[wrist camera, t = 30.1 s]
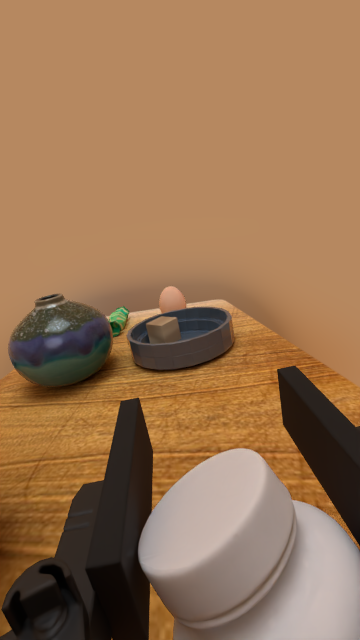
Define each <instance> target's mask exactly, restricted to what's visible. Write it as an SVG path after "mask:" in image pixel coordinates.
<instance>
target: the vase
mask: <svg viewBox="0 0 360 640" xmlns="http://www.w3.org/2000/svg"><path fill="white" fill-rule="evenodd" d="M112 345H113V333H112V328H111V325H110V323H109V321H108V319H107V318H106V316H105V315H104V314H103V313H101V312H100V311H99V310H98V309H96V308H94V307H92V306H89V305H86V304H83V303H79V302H75V301H70V300H67V299H65V298H64V297H63V295H62V294H53V295H49V296H45V297H42V298H39V299H37V300H36V301H35V308H34V309H33V310H32V311H31V312H30V313H29V314H28V315H27V316H26V317H25V318H24V319H23V320H22V321H21V322H20V323H19V324H18V325H17V327H16V328H15V329H14V331H13V332H12V334H11V337H10V340H9V344H8V352H9V356H10V359H11V362H12V364H13V366H14V368H15V369H16V370H17V372H18V373H19V374H20V375H21V376H23V377H24V378H25V379H26V380H28V381H30V382H31V383H33V384H36V385H39V386H43V387H63V386H68V385H72V384H75V383H78V382H80V381H83V380H85V379H87V378H89V377H90V376H92V375H93V374H95V373H96V372H97V371H98V370H100V369H101V368H102V366H103V365H104V364H105V363H106V361H107V360H108V358H109V356H110V353H111V350H112Z"/></svg>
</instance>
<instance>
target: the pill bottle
mask: <svg viewBox="0 0 360 640" xmlns="http://www.w3.org/2000/svg"><path fill="white" fill-rule="evenodd" d="M138 559H139V563H140V566H141V568H142V570H143V572H144V573H145V575H146V577H147V578H148V580H149V581H150V583H151V585H152V586H153V588H154V589H155V591H156V592H157V594H158V595H159V597H160V598H161V600H162V602H163V603H164V605H165V607H166V608H167V609H168V610H169V611H170V612H171V614H172V615H173V617H174V618H175V619H174V628H173V640H360V550H359V549H358V547H357V546H356V545H355V543H354V542H353V541H352V539H351V538H350V537H349V535H348V534H347V533H346V531H345V530H344V529H343V528H342V527H341V526H340V525H339V524H338V523H337V522H336V521H335V520H334V519H333V518H331V517H330V516H329V515H327V514H326V513H325V512H323V511H321V510H320V509H318V508H316V507H314V506H312V505H310V504H307V503H304V502H300V501H296V500H292V499H291V496H290V493H289V491H288V490H287V488H286V487H285V485H284V484H283V483H282V482H281V481H280V480H279V479H278V477H277V476H276V475H275V473H274V472H273V471H272V470H271V468H270V467H269V465H268V464H267V463H266V461H265V460H264V459H263V458H262V457H261V456H260V455H259V454H258V453H257V452H255V451H253V450H250V449H242V448H239V449H232V450H228V451H225V452H222V453H219V454H217V455H215V456H213V457H211V458H209V459H207V460H205V461H204V462H202V463H200V464H199V465H197V466H196V467H195V468H193V469H192V470H191V471H189V472H188V473H187V474H185V475H184V476H183V477H182V478H181V479H180V480H179V481H177V482H176V483H175V484H174V485H173V486H172V487H171V488H170V489H169V490H168V492H167V493H166V494H165V495H164V496H163V498H162V499H161V500H160V502H159V503H158V504H157V506H156V507H155V508H154V510H153V511H152V513H151V514H150V516H149V518H148V520H147V522H146V524H145V526H144V528H143V530H142V533H141V536H140V540H139V545H138Z"/></svg>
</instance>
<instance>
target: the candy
mask: <svg viewBox="0 0 360 640" xmlns="http://www.w3.org/2000/svg"><path fill="white" fill-rule="evenodd" d="M128 314H129V311H128V310H127V309H126V308H125V307H120V308H117V309H116V312H113V313H112V314H111V315H110V317H109V323H110V325H111V328H112V333H113V337H114V336H118V335H119V333H120V330H123V328H124V326H125V324H126V319H127V318H128Z"/></svg>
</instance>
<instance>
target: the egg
mask: <svg viewBox="0 0 360 640" xmlns="http://www.w3.org/2000/svg"><path fill="white" fill-rule="evenodd" d="M159 305H160V310H161V312H162V313H165V312H169V311H173V310H178V309H184V308H186V301H185V298H184V296H183V294H182V293H181V292H180V291H179V290H178V289H177V288H175V287H173V286H169V287H166V288H165V289H164V290H163V291H162V293H161V296H160V300H159Z"/></svg>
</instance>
